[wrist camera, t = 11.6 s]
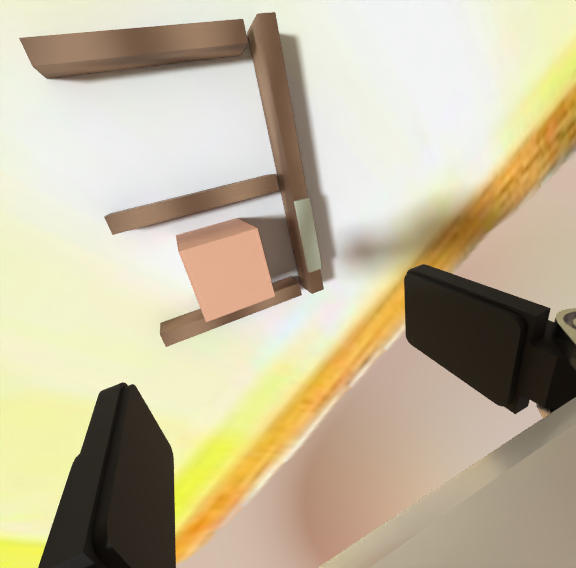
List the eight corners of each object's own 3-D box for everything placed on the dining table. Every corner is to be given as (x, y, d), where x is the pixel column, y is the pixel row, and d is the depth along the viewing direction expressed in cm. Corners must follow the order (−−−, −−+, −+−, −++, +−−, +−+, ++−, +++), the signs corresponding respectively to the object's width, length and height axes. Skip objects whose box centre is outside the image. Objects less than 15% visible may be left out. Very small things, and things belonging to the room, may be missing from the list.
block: (237, 217, 23) (257, 228, 18) (252, 272, 25) (275, 296, 20) (175, 235, 22) (178, 251, 17) (197, 291, 24) (205, 322, 19)
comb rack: (263, 31, 20) (277, 8, 17) (311, 280, 28) (325, 290, 25) (35, 53, 16) (10, 29, 14) (165, 334, 24) (165, 352, 22)
